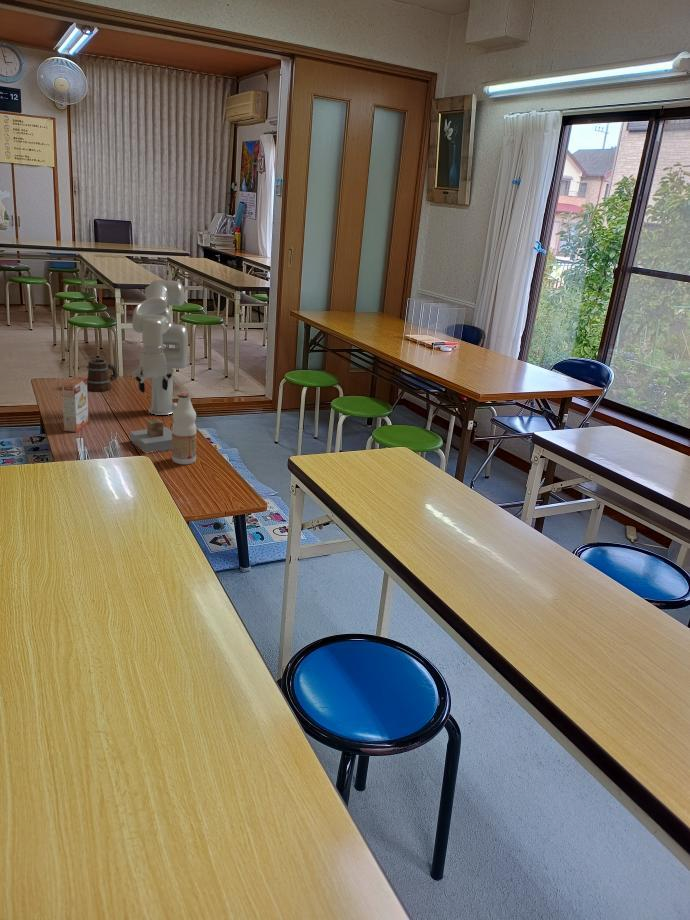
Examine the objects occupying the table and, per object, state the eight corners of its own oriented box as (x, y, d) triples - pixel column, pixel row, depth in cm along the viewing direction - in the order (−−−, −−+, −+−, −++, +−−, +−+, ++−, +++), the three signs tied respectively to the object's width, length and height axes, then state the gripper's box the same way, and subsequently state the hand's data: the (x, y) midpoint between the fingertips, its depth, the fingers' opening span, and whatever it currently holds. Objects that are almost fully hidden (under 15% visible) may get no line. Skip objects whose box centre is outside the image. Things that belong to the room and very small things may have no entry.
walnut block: (158, 432, 288) (158, 418, 285) (163, 435, 284) (163, 422, 282) (147, 433, 285) (147, 420, 283) (151, 437, 281) (151, 423, 279)
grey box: (166, 437, 296) (165, 426, 295) (181, 449, 285) (181, 438, 283) (130, 442, 287) (130, 431, 285) (145, 455, 275) (145, 443, 274)
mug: (90, 392, 345) (88, 364, 340) (84, 386, 354) (82, 358, 349) (121, 390, 354) (120, 362, 348) (114, 384, 363) (113, 357, 357)
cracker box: (77, 432, 291) (74, 385, 283) (63, 431, 291) (60, 384, 283) (89, 422, 304) (87, 377, 296) (76, 421, 304) (73, 376, 296)
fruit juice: (176, 466, 266) (176, 397, 256) (168, 457, 274) (168, 391, 264) (199, 463, 271) (200, 396, 261) (191, 455, 278) (191, 389, 268)
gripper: (169, 346, 280) (169, 386, 286) (128, 348, 270) (129, 390, 276) (177, 350, 275) (177, 390, 281) (135, 353, 264) (136, 395, 271)
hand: (153, 390), depth 279 cm, fingers open, 9 cm apart
